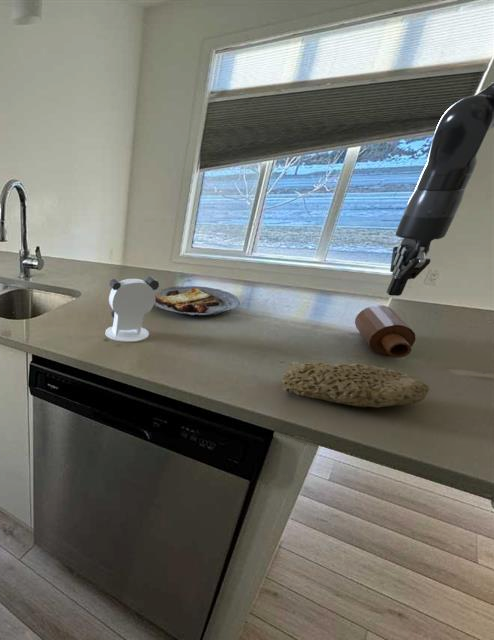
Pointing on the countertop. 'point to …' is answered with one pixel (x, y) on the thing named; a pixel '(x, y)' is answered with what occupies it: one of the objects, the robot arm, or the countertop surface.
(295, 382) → the sponge
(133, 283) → the panda figurine
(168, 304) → the food plate
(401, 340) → the bottle
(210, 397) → the countertop surface
